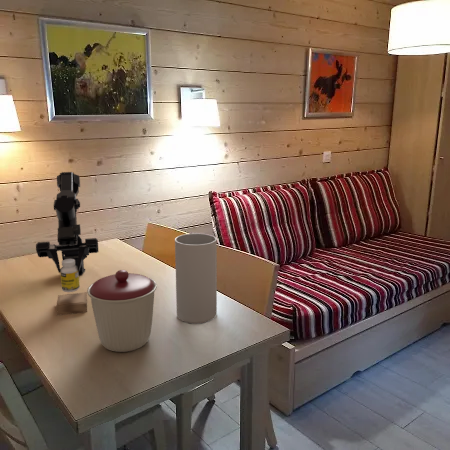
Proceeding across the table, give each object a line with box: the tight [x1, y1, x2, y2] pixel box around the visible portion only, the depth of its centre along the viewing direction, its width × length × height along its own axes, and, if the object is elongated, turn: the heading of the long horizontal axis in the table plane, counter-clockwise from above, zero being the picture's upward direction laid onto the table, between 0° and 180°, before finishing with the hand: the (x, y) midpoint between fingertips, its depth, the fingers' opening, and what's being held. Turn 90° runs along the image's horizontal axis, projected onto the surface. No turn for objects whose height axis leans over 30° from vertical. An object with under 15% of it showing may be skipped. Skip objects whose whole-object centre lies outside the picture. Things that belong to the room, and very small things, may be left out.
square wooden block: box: [55, 291, 88, 316], centre depth 138 cm, size 9×9×3 cm
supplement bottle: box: [59, 259, 80, 293], centre depth 136 cm, size 5×5×10 cm
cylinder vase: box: [174, 232, 218, 324], centre depth 131 cm, size 12×12×25 cm
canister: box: [86, 269, 158, 353], centre depth 115 cm, size 18×18×21 cm
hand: (69, 271), depth 134 cm, fingers closed on supplement bottle, 5 cm apart
